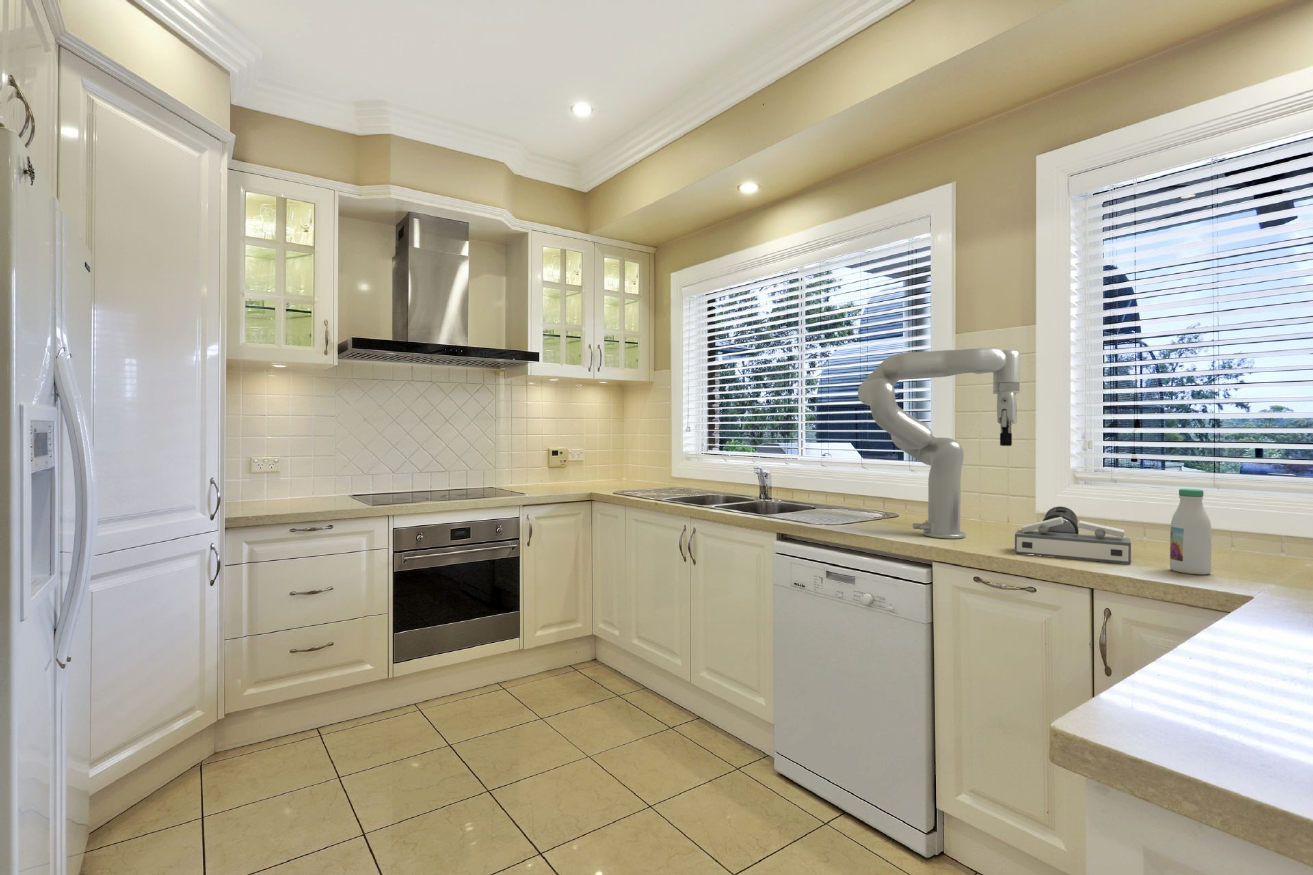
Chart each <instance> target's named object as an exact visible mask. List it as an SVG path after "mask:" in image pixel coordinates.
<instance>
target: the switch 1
mask: <svg viewBox="0 0 1313 875" xmlns="http://www.w3.org/2000/svg"><path fill="white" fill-rule="evenodd" d="M1063 522H1064V521H1063V519H1062V517H1058V518H1054V519H1050V520H1045V521H1038V522H1034V523H1030V524H1029V523H1028V524H1025V525H1022V527H1021V528H1020V530H1022V532H1023V533H1025V532H1029V531H1039V532H1040V533H1046V532H1047V531H1048V529H1049V527H1051V526H1055V525H1060V524H1063Z"/></svg>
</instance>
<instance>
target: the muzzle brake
mask: <svg viewBox="0 0 1313 875" xmlns="http://www.w3.org/2000/svg"><path fill="white" fill-rule="evenodd" d="M1058 517H1062V519H1063V521H1064V522H1063V524H1060V525H1055V526H1051V527H1049V529H1048V531H1047V532H1055V533H1069V534H1079V531H1080V530H1079V528H1078V525H1079V522H1078V517H1077V514H1076V513H1075V512H1074V511H1073V509H1071V508H1068V507H1065V506H1060V505H1059V506H1053V507H1052V508H1050V509H1049V510H1048V511H1047V512H1046V513H1045V515H1044V517H1043V519H1042V521H1045V520H1050V519H1054V518H1058Z"/></svg>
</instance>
